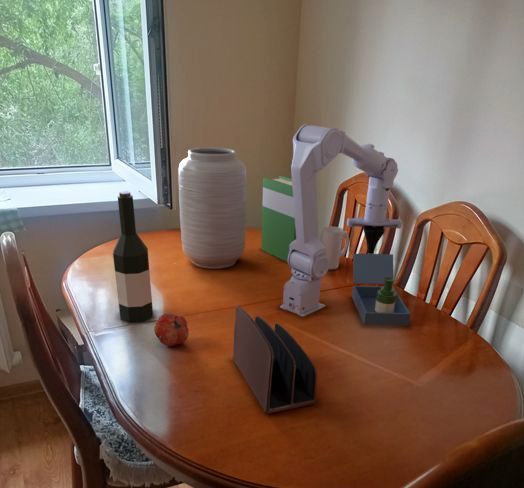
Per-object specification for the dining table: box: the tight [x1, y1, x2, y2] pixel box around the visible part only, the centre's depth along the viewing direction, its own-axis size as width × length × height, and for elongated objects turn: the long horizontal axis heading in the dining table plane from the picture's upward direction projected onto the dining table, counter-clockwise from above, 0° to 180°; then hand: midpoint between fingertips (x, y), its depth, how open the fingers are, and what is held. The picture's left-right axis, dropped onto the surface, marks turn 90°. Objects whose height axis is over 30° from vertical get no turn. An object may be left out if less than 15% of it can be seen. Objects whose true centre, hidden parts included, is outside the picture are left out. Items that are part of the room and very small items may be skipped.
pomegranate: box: [153, 312, 189, 347], centre depth 109 cm, size 7×7×10 cm
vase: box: [178, 147, 248, 270], centre depth 150 cm, size 20×20×34 cm
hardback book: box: [260, 175, 296, 263], centre depth 160 cm, size 18×7×24 cm, turn 35°
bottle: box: [374, 277, 397, 313], centre depth 121 cm, size 5×5×11 cm
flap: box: [352, 252, 395, 285], centre depth 134 cm, size 8×11×1 cm
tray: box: [351, 285, 412, 327], centre depth 127 cm, size 17×11×4 cm, turn 1°
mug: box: [319, 225, 350, 270], centre depth 155 cm, size 10×7×12 cm, turn 115°
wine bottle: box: [112, 190, 154, 324], centre depth 115 cm, size 8×8×30 cm
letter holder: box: [232, 305, 318, 415], centre depth 95 cm, size 10×20×14 cm, turn 21°
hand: (370, 252), depth 138 cm, fingers closed
